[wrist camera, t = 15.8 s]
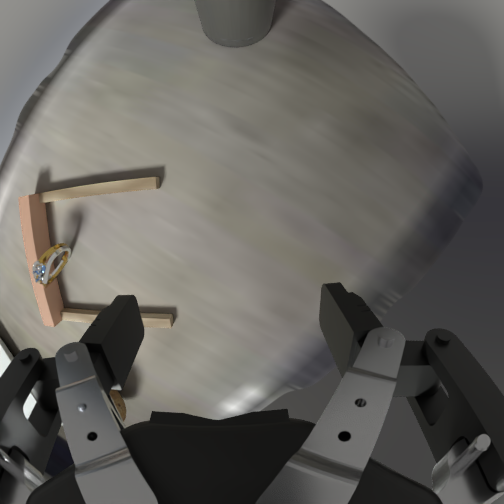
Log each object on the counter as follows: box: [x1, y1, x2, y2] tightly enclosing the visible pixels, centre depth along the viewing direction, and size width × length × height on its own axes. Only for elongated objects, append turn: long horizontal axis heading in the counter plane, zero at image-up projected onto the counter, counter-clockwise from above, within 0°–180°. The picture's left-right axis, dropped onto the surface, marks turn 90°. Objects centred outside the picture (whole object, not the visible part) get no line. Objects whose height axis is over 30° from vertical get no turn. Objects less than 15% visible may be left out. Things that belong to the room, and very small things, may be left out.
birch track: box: [39, 177, 174, 328], centre depth 35 cm, size 20×20×2 cm
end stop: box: [19, 193, 64, 327], centre depth 33 cm, size 20×2×4 cm, turn 1°
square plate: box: [0, 338, 63, 425], centre depth 42 cm, size 27×27×4 cm
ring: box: [32, 243, 71, 288], centre depth 32 cm, size 7×3×8 cm, turn 136°
